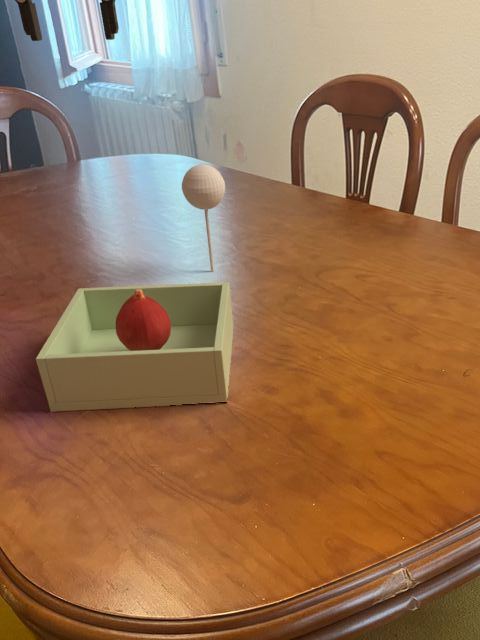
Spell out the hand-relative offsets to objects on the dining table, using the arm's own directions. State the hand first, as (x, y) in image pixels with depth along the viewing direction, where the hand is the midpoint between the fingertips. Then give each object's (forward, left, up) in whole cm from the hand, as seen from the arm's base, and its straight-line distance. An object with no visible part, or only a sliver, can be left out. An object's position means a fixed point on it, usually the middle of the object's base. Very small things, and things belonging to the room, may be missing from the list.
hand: (74, 40), depth 78 cm
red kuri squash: (+8, -26, -29) cm, 40 cm away
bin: (+8, -26, -30) cm, 41 cm away
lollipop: (+13, +3, -30) cm, 33 cm away
